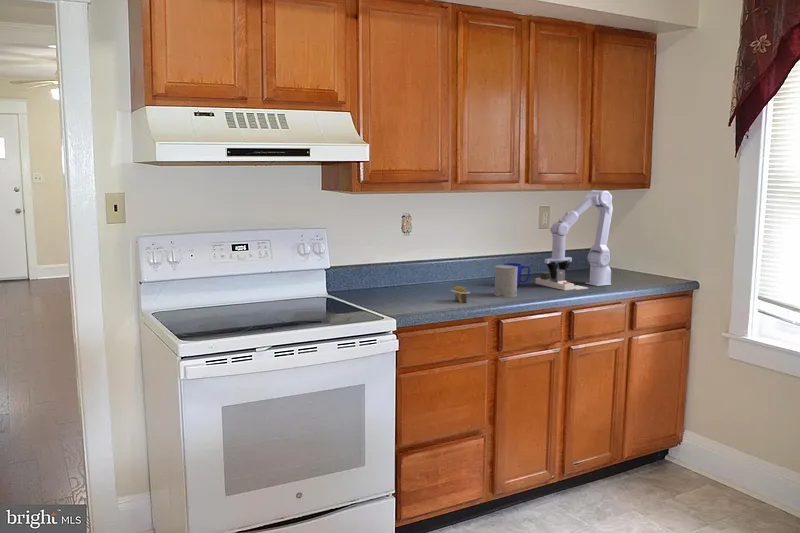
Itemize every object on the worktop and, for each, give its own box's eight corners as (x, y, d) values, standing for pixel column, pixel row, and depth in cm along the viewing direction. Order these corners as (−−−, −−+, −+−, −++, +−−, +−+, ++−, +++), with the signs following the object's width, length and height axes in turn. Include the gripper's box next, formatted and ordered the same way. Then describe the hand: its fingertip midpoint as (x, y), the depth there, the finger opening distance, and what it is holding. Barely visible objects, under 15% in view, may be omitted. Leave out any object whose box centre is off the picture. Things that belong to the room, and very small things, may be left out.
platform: (459, 307, 265) (460, 291, 264) (434, 300, 280) (434, 284, 279) (484, 305, 271) (484, 288, 270) (458, 297, 286) (458, 282, 285)
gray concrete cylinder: (503, 297, 285) (503, 268, 283) (489, 294, 293) (490, 265, 291) (521, 296, 289) (522, 267, 287) (507, 292, 297) (508, 264, 296)
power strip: (544, 282, 324) (544, 271, 323) (573, 289, 307) (574, 277, 306) (535, 283, 321) (535, 271, 321) (564, 290, 304) (565, 277, 303)
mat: (577, 286, 315) (577, 285, 315) (588, 288, 309) (588, 287, 309) (565, 287, 311) (565, 286, 311) (576, 289, 305) (576, 288, 305)
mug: (529, 287, 310) (530, 266, 308) (502, 286, 312) (503, 265, 310) (529, 284, 317) (530, 263, 316) (503, 283, 320) (504, 262, 318)
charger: (557, 279, 315) (558, 268, 314) (564, 280, 311) (565, 269, 310) (550, 280, 313) (550, 269, 312) (557, 281, 309) (557, 270, 308)
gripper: (564, 247, 317) (563, 275, 319) (540, 248, 310) (539, 277, 312) (575, 248, 311) (574, 277, 312) (550, 250, 304) (549, 280, 306)
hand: (557, 278), depth 312 cm, fingers closed on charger, 4 cm apart
